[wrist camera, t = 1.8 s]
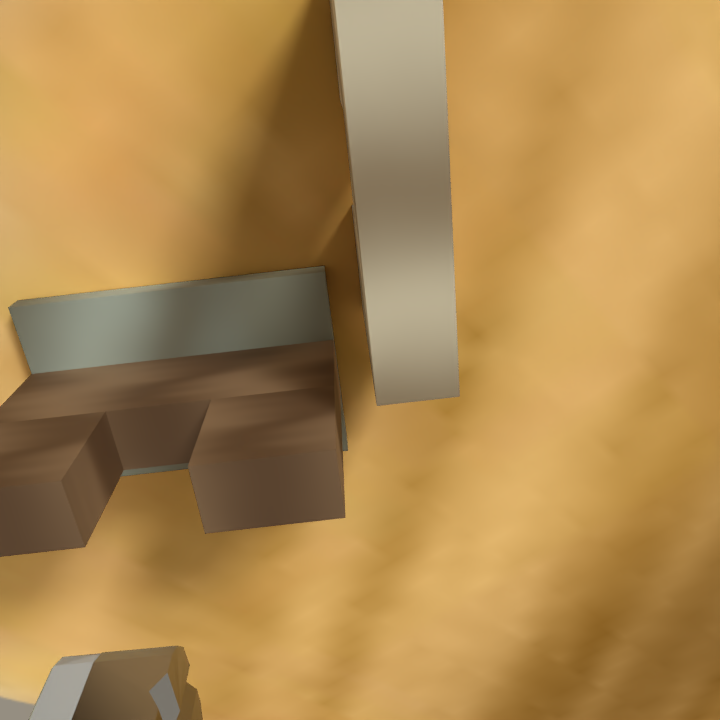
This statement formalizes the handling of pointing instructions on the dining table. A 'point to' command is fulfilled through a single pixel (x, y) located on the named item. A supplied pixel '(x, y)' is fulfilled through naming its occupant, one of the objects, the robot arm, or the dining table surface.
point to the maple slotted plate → (400, 191)
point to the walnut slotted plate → (174, 405)
